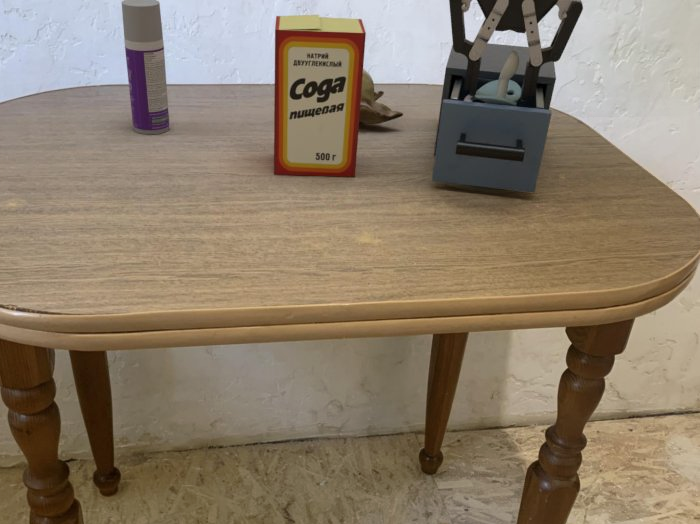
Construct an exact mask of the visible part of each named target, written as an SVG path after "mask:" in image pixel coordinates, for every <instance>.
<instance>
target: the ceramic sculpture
mask: <svg viewBox="0 0 700 524" xmlns="http://www.w3.org/2000/svg"><path fill="white" fill-rule="evenodd" d="M384 94H385V92H384V91H382V90H378V91H375V83H374V80H373V77H372V76H371V75H370V73H369V72H368V71H367V70H366V69H365V68H363V77H362V90H361V103H360V117H359V122H361V123H363V124H369V125H378V124H382V123H387V122H390V121H393V120H395V119H398V118H401V117H403V116H404V113H403V112H400V111H395V110H392V109H391V108H390V107H389V106H387V105H386V104H384V103H380V102H377V100H379V99H381V97H383V96H384Z"/></svg>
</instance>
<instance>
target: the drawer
mask: <svg viewBox="0 0 700 524" xmlns="http://www.w3.org/2000/svg"><path fill="white" fill-rule="evenodd" d="M465 78H466V76H459V75H456V79H455V83H454V87H453V91H452V95H451V100H448V99H444V100H443V104H442V111H441V119H440V126H439V133H438V140H437V148H436V155H435V156H434V163H433V169H432V170H433V171H432V176H431V181H432V182H439V183H447V184H455V185H465V186H471V187H472V186H473V187H482V188H490V189H497V190H507V191H515V192H523V193H533V194H534V193H535V191H536V185H537V181H538V176H539V172H540V167H541V164H542V158H543V154H544V150H545V145H546V141H547V137H548V133H549V128H550V124H551V123H550V122H551V119H552V114H553V113H552V110H551V109H549V110H545V109H544V102H543V89H542V84H540V83H537V86H536V91H535V93H534V95H533V96H528V98H527V101H520V99H519V100H518V101H517V102H516V103H517V104H516V106H506V105H496V104H487V103H485V102H484V101H482V100H480V99H476V100H474V101H472V102H467V101H464V99H465V97H466V96H468V95H469V94H470V90H465ZM495 80H499V79H489V78H479V77H478V83H477V89H476V92H477V90H478V89H480V88H481V87H482V86H484V85H485V84H487V83H489V82H491V81H495ZM514 82H516V83H517V84H518V85H519V86H520V88H521V90H522V85H523V82H520V81H514ZM507 94H508V95H513V94H514V93H507Z"/></svg>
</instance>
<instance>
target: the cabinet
mask: <svg viewBox="0 0 700 524" xmlns="http://www.w3.org/2000/svg"><path fill="white" fill-rule="evenodd" d="M542 48H543V47H541V49H542ZM512 50H514V51H516V52H517V54H518V56H519V66H518V69H517V71H516V73H515V74H514V75H513V76H512V77H511V78H510V79H509V80H512V81H520V82H523V80H524V75H525V70H526V64H527V62H529V59H530V54H529V47H528V46H520V45H510V44H509V45H508V44H498V43H489V42H488V43H487V45H486V46H485V48H484V50H483V52H482V54H481V56H480V57H482V59H481V65H480V71H479V78H489V79H499V76H500V73H501V71H502V69H503V66H504V64H505V62H506V60H507V58H508V56H509V55H510V53H511V52H512ZM467 65H468V59H467V57H466V56H465V55H463V54H461V53H457V52H455V51H454V49H453V44H452V45H451V49H450V53H449V55H448V59H447V62H446V65H445V71H444V78H443V84H442V85H443V86H442V94H441V99H440V101H441V102H440V108H439V115H438V122H437V123H438V124H437V129H436V137H435V143H434V152H433V156H434V157H435V155H436V148H437V140H438V133H439V126H440V119H441V111H442V104H443V100H444V99H448V100H451V95H452V91H453V87H454V83H455V79H456V75H459V76H466V71H467ZM556 80H557V75H556V66H555V62H552V61H551V62H547V63H544V64H543V65H542V66H541V68H540V71H539V76H538V81H537V83H540V84H542V89H543V102H544V109H545V110H550V108H551V103H552V98H553V95H554V94H553V93H554V89H555V85H556Z"/></svg>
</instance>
